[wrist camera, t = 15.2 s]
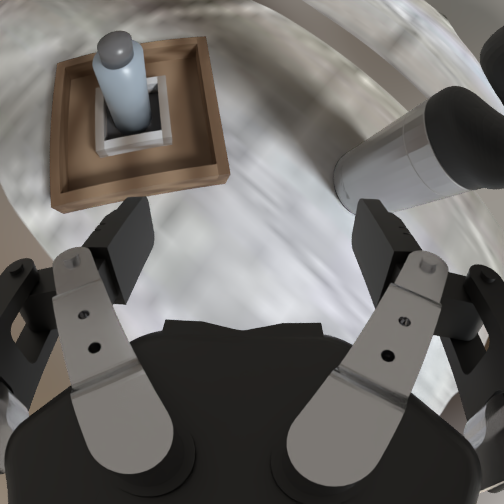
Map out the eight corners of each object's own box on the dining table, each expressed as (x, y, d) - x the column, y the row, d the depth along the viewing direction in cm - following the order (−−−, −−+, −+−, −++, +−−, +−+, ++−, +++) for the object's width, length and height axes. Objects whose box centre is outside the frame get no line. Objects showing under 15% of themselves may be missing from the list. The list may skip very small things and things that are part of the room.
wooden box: (202, 53, 35) (205, 36, 31) (225, 183, 34) (230, 173, 31) (65, 78, 31) (57, 63, 27) (63, 213, 30) (51, 207, 26)
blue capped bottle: (150, 100, 32) (141, 20, 18) (153, 131, 32) (142, 57, 18) (114, 106, 31) (89, 31, 17) (115, 139, 31) (85, 69, 17)
